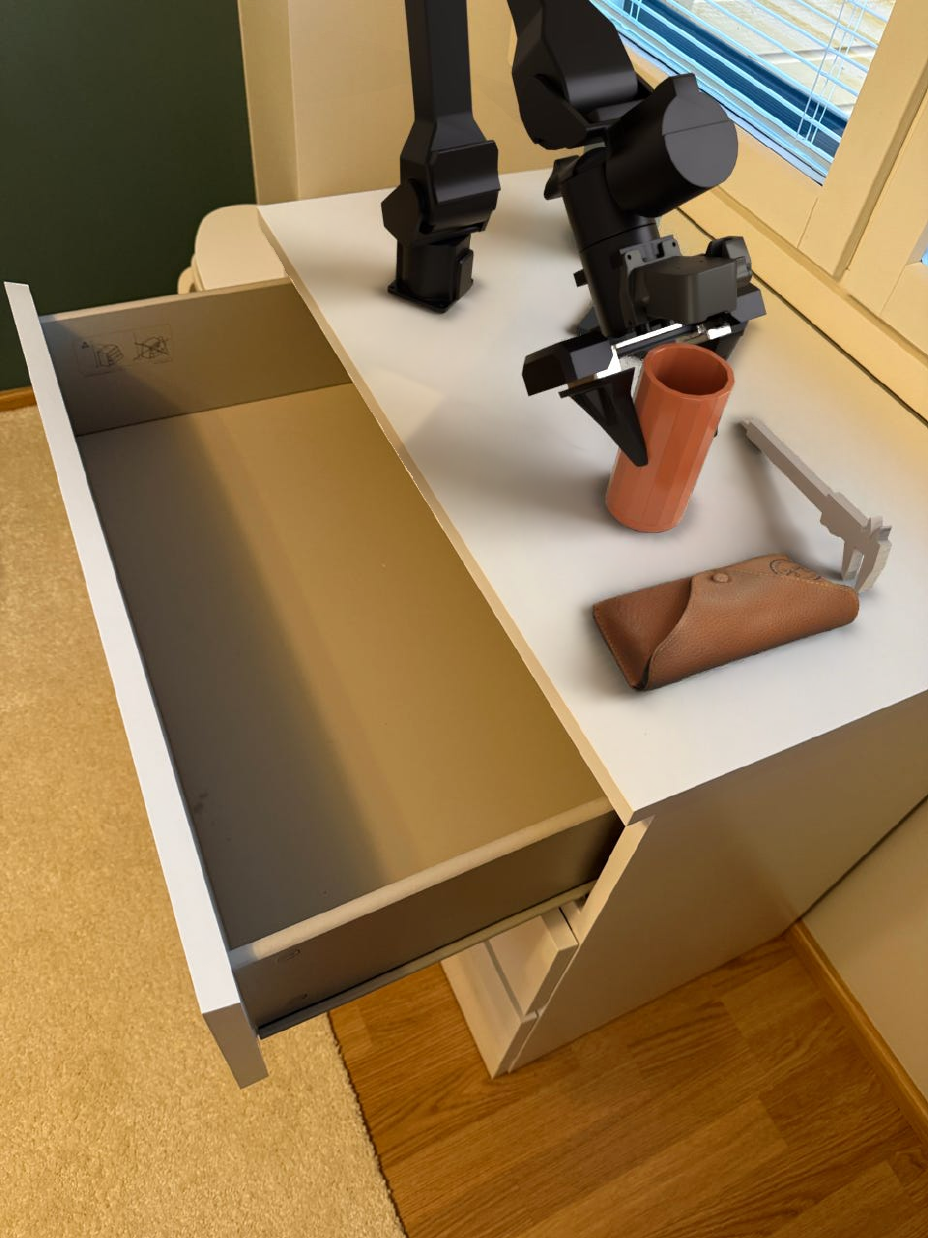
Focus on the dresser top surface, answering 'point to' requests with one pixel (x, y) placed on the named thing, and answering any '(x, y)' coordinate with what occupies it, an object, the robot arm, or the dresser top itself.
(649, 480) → the crock
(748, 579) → the sunglasses case
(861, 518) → the caliper
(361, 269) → the dresser top surface
